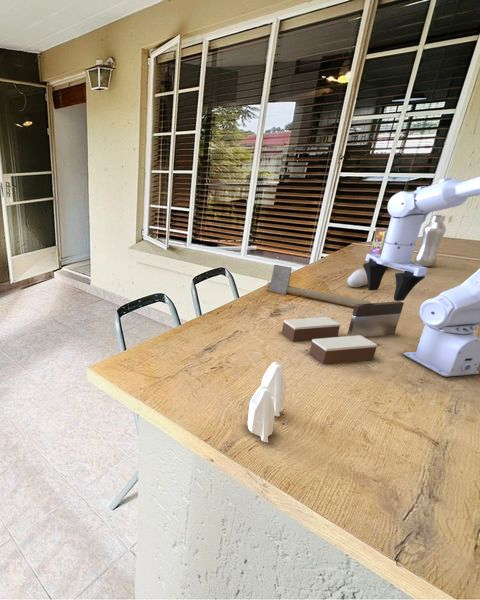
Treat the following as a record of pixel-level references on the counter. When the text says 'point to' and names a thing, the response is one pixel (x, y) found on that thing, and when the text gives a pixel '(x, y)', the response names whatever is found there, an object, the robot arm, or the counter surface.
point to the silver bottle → (431, 241)
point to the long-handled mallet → (282, 286)
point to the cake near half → (342, 349)
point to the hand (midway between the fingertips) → (385, 294)
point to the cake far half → (310, 328)
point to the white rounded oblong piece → (358, 278)
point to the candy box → (379, 240)
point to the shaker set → (267, 402)
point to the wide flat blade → (375, 319)
